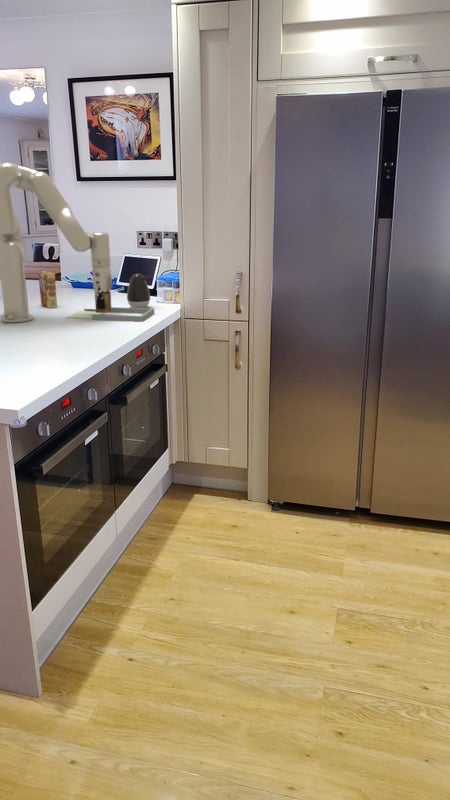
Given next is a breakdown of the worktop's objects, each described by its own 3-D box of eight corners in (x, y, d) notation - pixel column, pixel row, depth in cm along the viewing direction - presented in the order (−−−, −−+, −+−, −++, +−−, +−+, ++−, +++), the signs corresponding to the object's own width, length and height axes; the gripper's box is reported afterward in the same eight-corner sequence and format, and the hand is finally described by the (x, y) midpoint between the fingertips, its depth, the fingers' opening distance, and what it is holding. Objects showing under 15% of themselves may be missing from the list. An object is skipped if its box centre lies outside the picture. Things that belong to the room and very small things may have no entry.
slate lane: (142, 321, 251) (142, 316, 250) (92, 319, 254) (91, 314, 254) (154, 313, 267) (154, 308, 266) (107, 311, 270) (106, 307, 270)
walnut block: (107, 313, 259) (106, 293, 256) (82, 311, 260) (81, 292, 258) (111, 310, 263) (110, 291, 261) (86, 309, 265) (85, 290, 262)
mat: (93, 318, 256) (93, 318, 256) (66, 317, 258) (66, 317, 258) (105, 312, 269) (105, 311, 269) (79, 311, 271) (79, 310, 271)
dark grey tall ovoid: (146, 310, 273) (145, 275, 269) (124, 309, 275) (122, 274, 270) (153, 306, 283) (152, 272, 278) (132, 305, 285) (130, 271, 280)
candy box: (58, 307, 280) (55, 273, 275) (49, 308, 278) (45, 273, 273) (49, 304, 287) (46, 271, 282) (40, 305, 284) (37, 271, 279)
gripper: (102, 266, 246) (104, 311, 252) (116, 261, 262) (118, 304, 268) (84, 265, 248) (87, 311, 253) (99, 260, 263) (102, 303, 269)
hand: (103, 307), depth 261 cm, fingers closed on walnut block, 5 cm apart
